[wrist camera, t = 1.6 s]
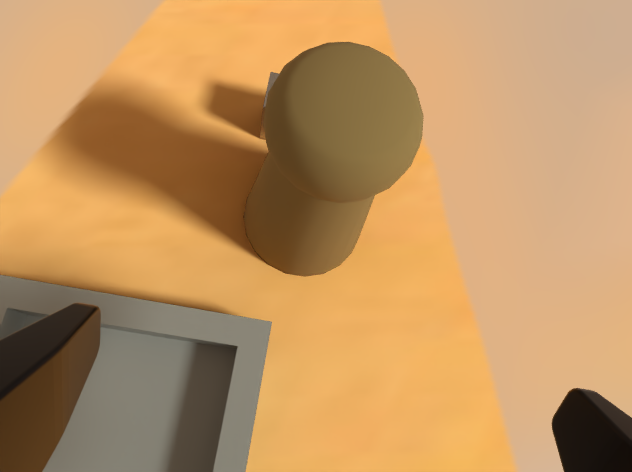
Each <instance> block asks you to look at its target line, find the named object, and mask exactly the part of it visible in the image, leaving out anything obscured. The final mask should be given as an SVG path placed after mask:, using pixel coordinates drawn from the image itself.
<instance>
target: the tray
mask: <svg viewBox="0 0 632 472" xmlns="http://www.w3.org/2000/svg"><path fill="white" fill-rule="evenodd" d="M73 303H84V304H90V305H95V306H98V307H99V308H100V311H101V330H100V347H99V351H98V354H97V357H96V359H95V362H94V364H93V366H92V369H91V371H90V373H89V376H88V378H87V380H86V383H85V385H84V387H83V390H82V392H81V394H80V397H79V399H78V401H77V404H76V406H75V408H74V411H73V413H72V415H71V418H70V420H69V422H68V425H67V427H66V429H65V431H64V433H63V436H62V437H61V439H60V441H59V443H58V445H57V447H56V449H55V450H54V452H53V454H52V456H51V457H50V459H49V461H48V463H47V464H46V466H45V468H44V470H43V472H245V471H246V465H247V460H248V454H249V448H250V443H251V437H252V431H253V426H254V420H255V414H256V409H257V403H258V397H259V392H260V386H261V380H262V375H263V369H264V364H265V358H266V352H267V347H268V341H269V335H270V330H271V324H272V322H270V321H264V320H258V319H252V318H247V317H241V316H235V315H229V314H224V313H218V312H212V311H206V310H200V309H195V308H189V307H183V306H177V305H172V304H166V303H160V302H154V301H148V300H143V299H137V298H131V297H125V296H120V295H114V294H108V293H102V292H97V291H91V290H85V289H79V288H73V287H68V286H62V285H56V284H50V283H45V282H39V281H33V280H27V279H22V278H16V277H10V276H4V275H0V340H1V339H3V338H5V337H7V336H9V335H11V334H13V333H15V332H17V331H19V330H21V329H23V328H25V327H27V326H29V325H31V324H33V323H35V322H37V321H39V320H41V319H43V318H45V317H47V316H49V315H51V314H53V313H55V312H57V311H59V310H61V309H63V308H65V307H67V306H69V305H71V304H73Z"/></svg>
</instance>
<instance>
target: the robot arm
mask: <svg viewBox="0 0 632 472" xmlns="http://www.w3.org/2000/svg"><path fill="white" fill-rule="evenodd" d="M100 330H101V311H100V308H99V307H98V306H95V305H90V304H84V303H73V304H71V305H69V306H67V307H65V308H63V309H61V310H59V311H57V312H55V313H53V314H51V315H49V316H47V317H45V318H43V319H41V320H39V321H37V322H35V323H33V324H31V325H29V326H27V327H25V328H23V329H21V330H19V331H17V332H15V333H13V334H11V335H9V336H7V337H5V338H3V339H1V340H0V472H43V470H44V468H45V466H46V464H47V463H48V461H49V459H50V457H51V456H52V454H53V452H54V450H55V449H56V447H57V445H58V443H59V441H60V439H61V437H62V436H63V433H64V431H65V429H66V427H67V425H68V422H69V420H70V418H71V415H72V413H73V411H74V408H75V406H76V404H77V401H78V399H79V397H80V394H81V392H82V390H83V387H84V385H85V383H86V380H87V378H88V376H89V373H90V371H91V369H92V366H93V364H94V362H95V359H96V357H97V354H98V351H99V347H100ZM552 430H553V434H554V437H555V441H556V445H557V448H558V452H559V455H560V459H561V463H562V466H563V470H564V472H632V418H631V417H630V416H628V415H627V414H625V413H624V412H623V411H621V410H620V409H619V408H617V407H616V406H615V405H613V404H612V403H611V402H609V401H608V400H606V399H605V398H604V397H602V396H601V395H600V394H598V393H597V392H594V391H591V390H586V389H580V388H574V389H572V390H570V391H569V392H568V394H567V395H566V397H565V398H564V400H563V402H562V403H561V405H560V406H559V408H558V410H557V412H556V413H555V415H554V417H553V419H552Z"/></svg>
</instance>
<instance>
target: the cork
mask: <svg viewBox="0 0 632 472" xmlns="http://www.w3.org/2000/svg"><path fill="white" fill-rule="evenodd" d="M263 125H264V131H265V137H266V143H267V147H268V150H269V152H268V155H267V157H266V159H265V161H264V163H263V165H262V168H261V170H260V172H259V174H258V176H257V179H256V181H255V183H254V185H253V187H252V189H251V192H250V194H249V196H248V198H247V201H246V207H245V212H244V223H245V230H246V235H247V237H248V239H249V241H250V243H251V245H252V247H253V249H254V251H255V252H256V253H257V254H258V255H259V256H260V257H261V258H262V259H263V260H264V261H265V262H266V263H267V264H268V265H270V266H272V267H274V268H276V269H278V270H280V271H282V272H284V273H287V274H293V275H299V276H311V275H318V274H324V273H326V272H328V271H330V270H331V269H333V268H335V267H337V266H339V265H340V264H341V263H342V262H343V261H344V260H345V259H346V258H347V257H348V256H349V255H350V254H351V253H352V251H353V249H354V247H355V245H356V242H357V240H358V238H359V236H360V233H361V230H362V228H363V225H364V223H365V220H366V217H367V215H368V212H369V209H370V207H371V204H372V201H373V199H374V196H375V195H376V194H378V193H380V192H382V191H384V190H387V189H389V188H390V187H391V186H392V185H393V184H394V183H395V182H396V181H397V180H398V179H399V178H400V177H401V176H402V175H403V174H404V173H405V172H406V171H407V169H408V168H409V167H410V166H411V164H412V162H413V159H414V157H415V155H416V153H417V151H418V148H419V146H420V142H421V139H422V130H423V113H422V109H421V105H420V101H419V98H418V94H417V91H416V88H415V86H414V85H413V83H412V82H411V80H410V79H409V77H408V76H407V74H406V72H405V71H404V70H403V69H402V68H401V67H400V66H399V65H398V64H396V63H395V62H394V61H393V60H392V59H391V58H390V57H389V56H387V55H385V54H383V53H381V52H379V51H377V50H375V49H373V48H371V47H369V46H364V45H360V44H356V43H351V42H334V43H326V44H323V45H320V46H317V47H314V48H311V49H308V50H306V51H304V52H302V53H301V54H299V55H298V56H297V57H295V58H294V59H293V60H292V61H290V62H289V63H288V64H286V65H285V66H284V68H283V69H282V71H281V72H280V74H279V76H278V77H277V79H276V80H275V82H274V84H273V85H272V87H271V89H270V90H269V92H268V97H267V102H266V107H265V112H264V122H263Z"/></svg>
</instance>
